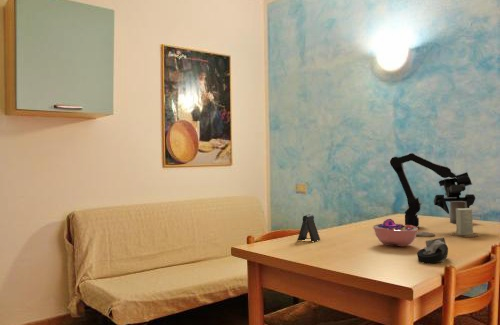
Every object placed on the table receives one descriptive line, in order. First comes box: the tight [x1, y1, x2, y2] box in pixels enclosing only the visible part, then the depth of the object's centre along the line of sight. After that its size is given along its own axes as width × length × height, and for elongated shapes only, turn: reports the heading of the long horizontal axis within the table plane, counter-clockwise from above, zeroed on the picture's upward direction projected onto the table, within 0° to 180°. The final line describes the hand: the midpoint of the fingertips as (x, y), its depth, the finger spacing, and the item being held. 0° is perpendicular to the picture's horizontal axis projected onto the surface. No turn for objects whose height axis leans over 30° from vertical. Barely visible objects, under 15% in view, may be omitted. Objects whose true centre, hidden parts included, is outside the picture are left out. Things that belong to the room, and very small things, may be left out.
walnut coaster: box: [452, 231, 479, 239], centre depth 205 cm, size 11×11×1 cm
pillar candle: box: [449, 202, 465, 224], centre depth 243 cm, size 10×10×15 cm
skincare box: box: [455, 207, 474, 235], centre depth 205 cm, size 6×4×12 cm
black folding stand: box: [297, 213, 321, 242], centre depth 202 cm, size 9×6×12 cm, turn 55°
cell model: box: [372, 218, 419, 247], centre depth 186 cm, size 17×20×11 cm
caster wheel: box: [416, 237, 449, 264], centre depth 158 cm, size 7×12×10 cm
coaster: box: [416, 231, 436, 238], centre depth 209 cm, size 11×11×1 cm
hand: (458, 213), depth 213 cm, fingers open, 9 cm apart
